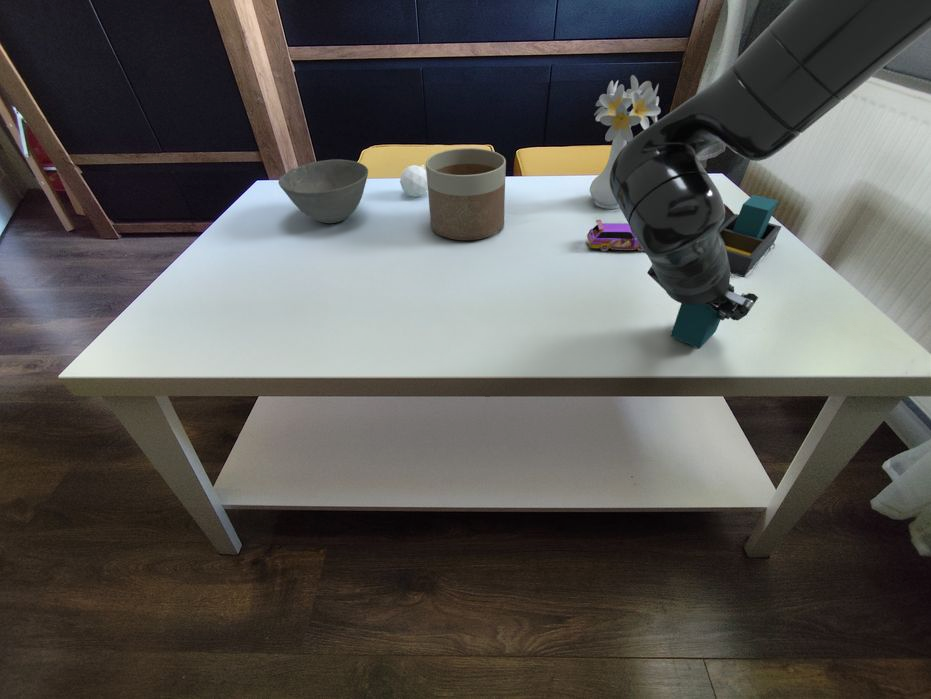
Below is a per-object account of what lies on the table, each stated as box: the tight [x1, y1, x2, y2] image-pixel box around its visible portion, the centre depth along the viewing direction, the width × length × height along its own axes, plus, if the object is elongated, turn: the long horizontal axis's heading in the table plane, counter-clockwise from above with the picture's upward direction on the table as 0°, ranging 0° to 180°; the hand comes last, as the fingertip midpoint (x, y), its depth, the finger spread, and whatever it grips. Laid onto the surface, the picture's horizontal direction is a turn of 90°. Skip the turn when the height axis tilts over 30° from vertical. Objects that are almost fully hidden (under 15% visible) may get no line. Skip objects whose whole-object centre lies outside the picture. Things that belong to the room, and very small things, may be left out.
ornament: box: [399, 164, 428, 198], centre depth 109 cm, size 7×7×8 cm
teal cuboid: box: [733, 194, 779, 239], centre depth 86 cm, size 4×6×8 cm
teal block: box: [670, 285, 735, 350], centre depth 65 cm, size 4×6×8 cm
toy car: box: [586, 219, 644, 252], centre depth 88 cm, size 6×12×5 cm, turn 86°
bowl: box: [278, 158, 369, 224], centre depth 100 cm, size 19×19×10 cm
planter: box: [425, 147, 507, 241], centre depth 94 cm, size 16×16×14 cm
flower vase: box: [588, 74, 662, 210], centre depth 96 cm, size 13×18×25 cm
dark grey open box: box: [719, 213, 782, 277], centre depth 86 cm, size 9×16×4 cm, turn 137°
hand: (707, 305), depth 66 cm, fingers closed on teal block, 4 cm apart
